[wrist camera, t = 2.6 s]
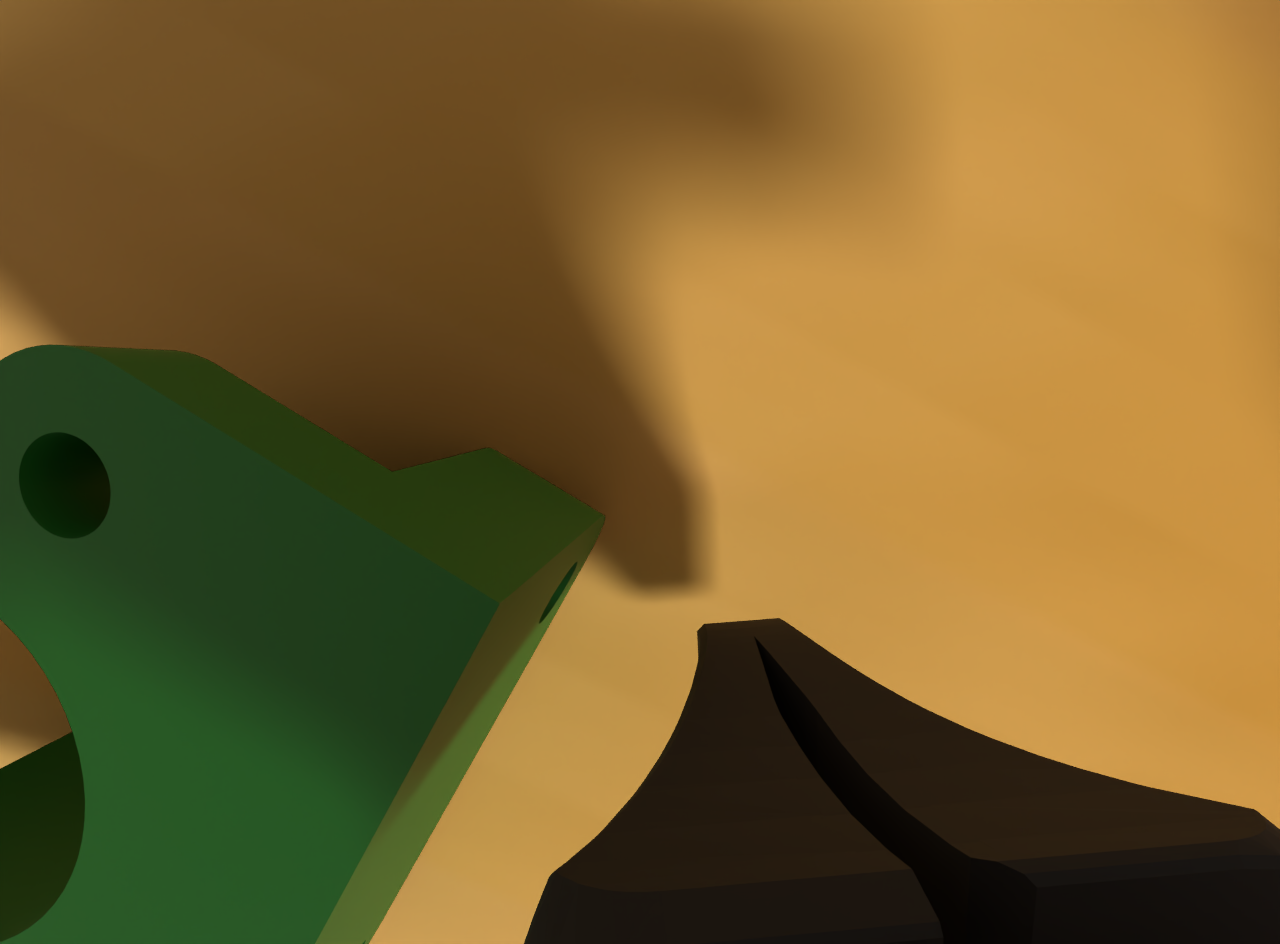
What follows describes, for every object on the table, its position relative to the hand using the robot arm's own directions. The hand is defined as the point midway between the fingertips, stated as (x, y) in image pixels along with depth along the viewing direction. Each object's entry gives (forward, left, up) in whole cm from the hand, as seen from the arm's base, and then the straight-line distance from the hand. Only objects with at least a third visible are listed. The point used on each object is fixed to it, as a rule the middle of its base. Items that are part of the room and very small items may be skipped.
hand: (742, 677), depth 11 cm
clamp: (-8, 0, -2) cm, 8 cm away
